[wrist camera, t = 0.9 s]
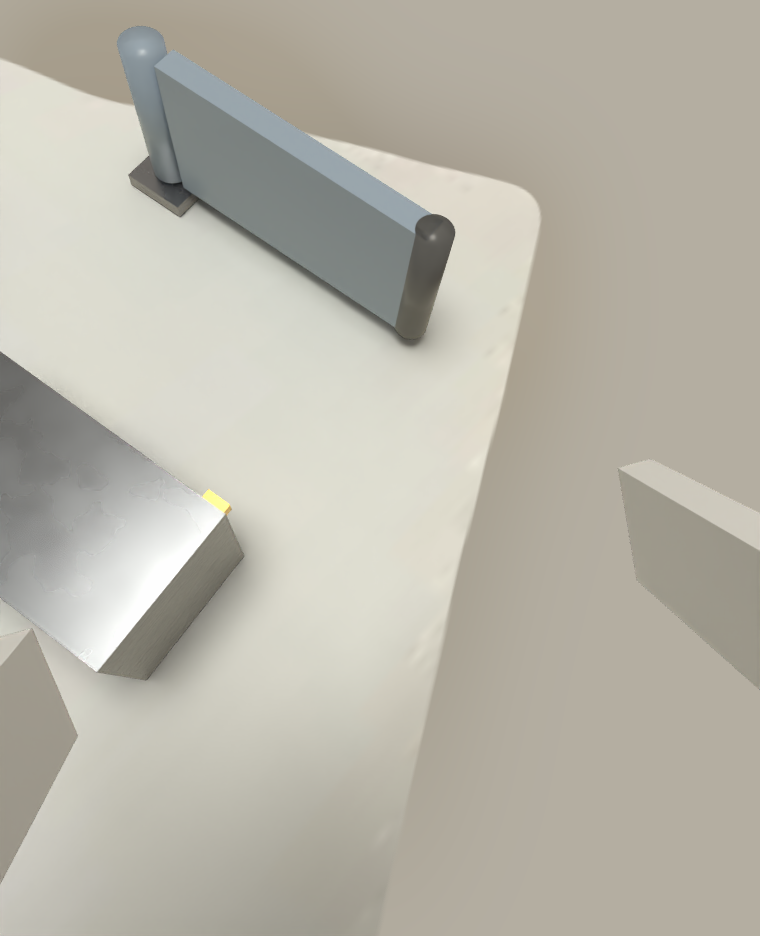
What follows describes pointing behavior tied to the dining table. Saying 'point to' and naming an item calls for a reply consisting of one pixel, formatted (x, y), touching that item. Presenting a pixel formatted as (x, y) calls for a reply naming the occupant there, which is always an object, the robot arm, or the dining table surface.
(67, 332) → the dining table surface
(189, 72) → the blue-grey flat panel
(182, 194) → the arm mount
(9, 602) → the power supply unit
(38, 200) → the dining table surface
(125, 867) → the dining table surface
